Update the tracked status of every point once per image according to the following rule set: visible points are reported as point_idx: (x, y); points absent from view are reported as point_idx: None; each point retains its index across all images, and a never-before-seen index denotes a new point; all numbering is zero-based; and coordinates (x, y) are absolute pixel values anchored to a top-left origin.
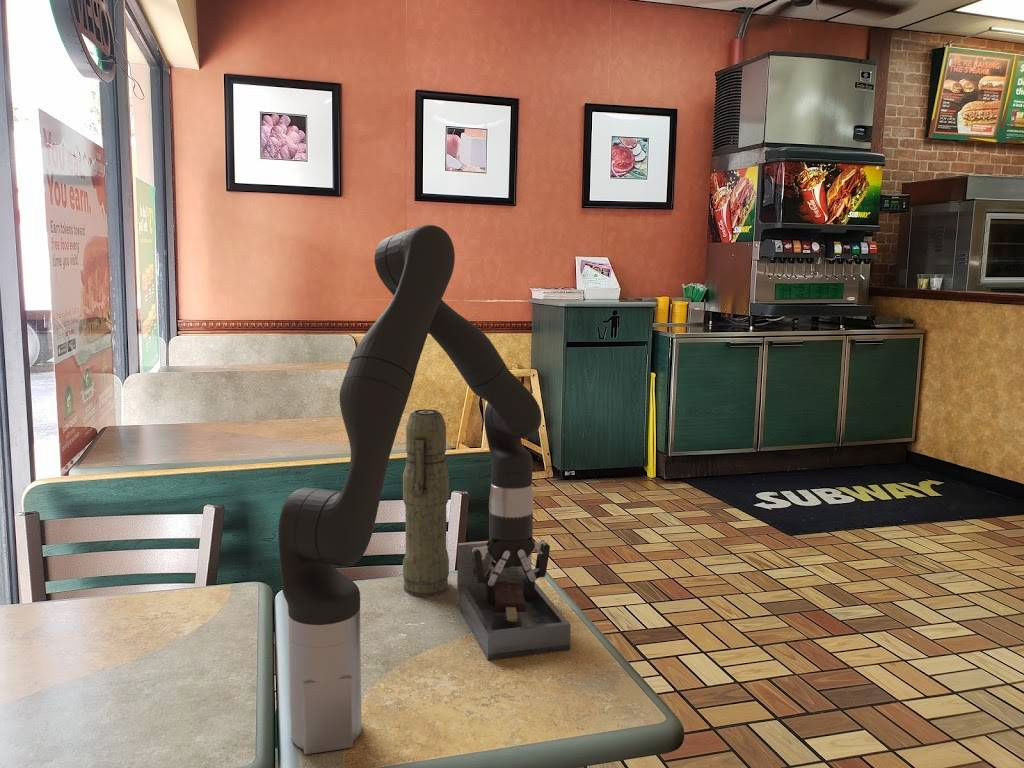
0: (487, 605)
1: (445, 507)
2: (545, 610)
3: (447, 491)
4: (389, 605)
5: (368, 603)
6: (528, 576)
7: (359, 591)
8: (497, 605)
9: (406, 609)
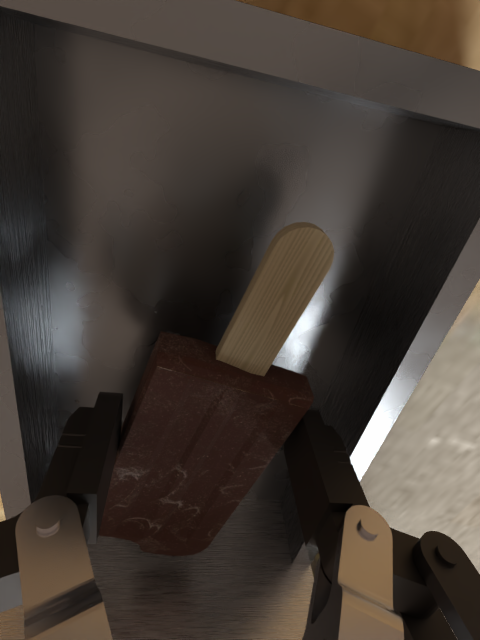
0: None
1: None
2: (32, 337)
3: None
4: (431, 527)
5: (461, 541)
6: (81, 543)
7: None
8: (304, 393)
9: (413, 505)
